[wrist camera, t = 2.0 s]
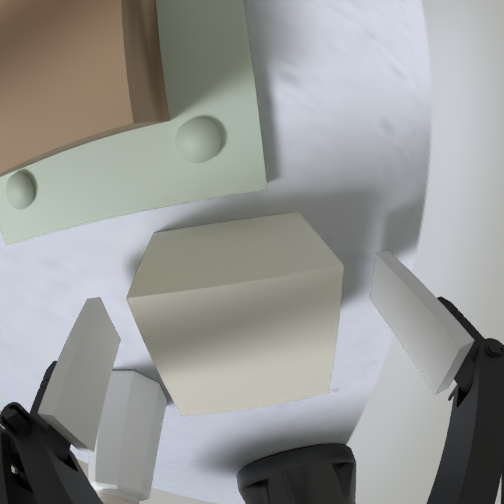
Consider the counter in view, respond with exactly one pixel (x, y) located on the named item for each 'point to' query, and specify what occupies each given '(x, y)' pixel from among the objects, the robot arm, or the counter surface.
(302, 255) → the brick
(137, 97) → the brick
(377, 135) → the counter surface
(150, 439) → the pepper shaker
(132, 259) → the counter surface
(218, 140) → the base plate
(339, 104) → the counter surface
